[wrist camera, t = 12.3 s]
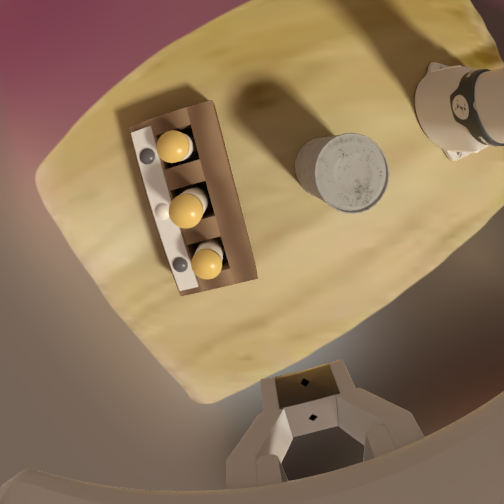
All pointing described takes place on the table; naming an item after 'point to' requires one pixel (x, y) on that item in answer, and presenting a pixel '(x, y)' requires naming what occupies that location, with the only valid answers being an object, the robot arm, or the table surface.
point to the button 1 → (175, 146)
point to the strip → (163, 207)
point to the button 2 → (208, 258)
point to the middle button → (188, 207)
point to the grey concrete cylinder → (343, 171)
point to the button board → (219, 187)
